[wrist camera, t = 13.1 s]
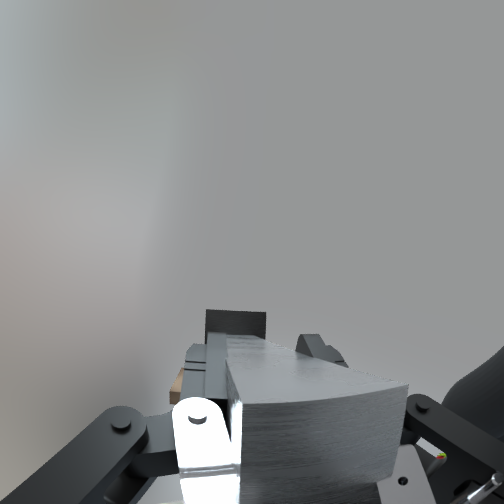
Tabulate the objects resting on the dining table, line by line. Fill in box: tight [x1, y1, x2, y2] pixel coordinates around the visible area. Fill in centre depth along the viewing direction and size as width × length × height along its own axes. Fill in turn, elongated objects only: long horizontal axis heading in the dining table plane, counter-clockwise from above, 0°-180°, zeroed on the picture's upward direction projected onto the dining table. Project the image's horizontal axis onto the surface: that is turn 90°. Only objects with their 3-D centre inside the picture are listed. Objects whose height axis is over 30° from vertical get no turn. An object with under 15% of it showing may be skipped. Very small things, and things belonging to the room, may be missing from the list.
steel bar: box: [205, 309, 409, 504], centre depth 15 cm, size 5×23×5 cm, turn 8°
